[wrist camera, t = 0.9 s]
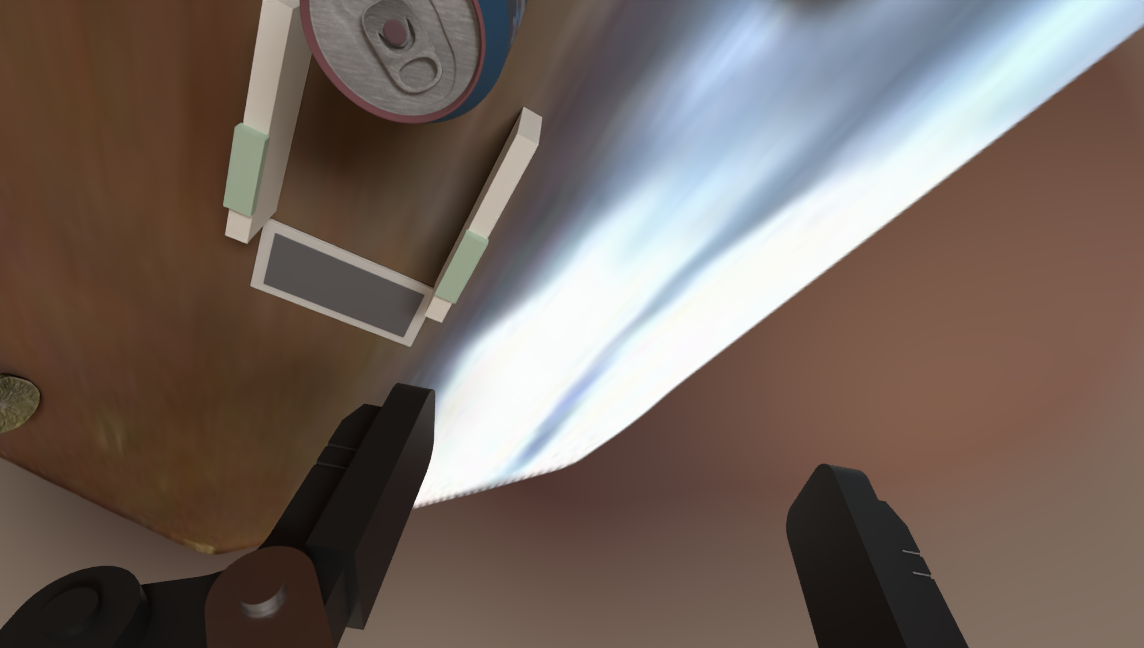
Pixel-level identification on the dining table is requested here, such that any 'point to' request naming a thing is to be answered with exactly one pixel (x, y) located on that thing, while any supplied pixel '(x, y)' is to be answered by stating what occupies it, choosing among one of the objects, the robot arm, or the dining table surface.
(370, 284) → the pad
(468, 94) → the soda can
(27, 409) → the lime
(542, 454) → the dining table surface
